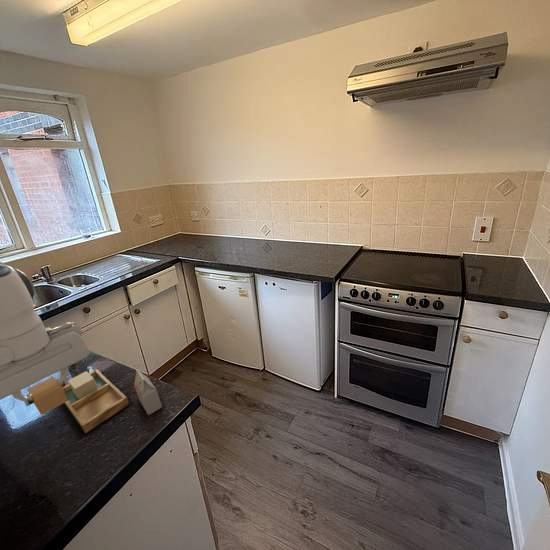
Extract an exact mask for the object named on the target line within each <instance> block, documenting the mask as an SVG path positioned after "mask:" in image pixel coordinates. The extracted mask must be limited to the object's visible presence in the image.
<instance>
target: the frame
mask: <svg viewBox="0 0 550 550" xmlns="http://www.w3.org/2000/svg"><path fill="white" fill-rule="evenodd" d="M88 373H89V374H90V375H91V376H92V377H93V378H94V380H95V382H96V385H97V387H98V389H97V390H95V391H93V392H92V393H90V394H88V395H86V396H85V397H83V398H81V399H80V400H79V399H78V397H77V396H76V395H75V394H74V392H73V391H72V389H71V386H70V384H69V383H68V385H66V386H64V387H63V390H64V393H65V395H66V398H67V400H68V401H66V402H65V403H63V404H64V406H65V407H66V409H67V410H68V411H69V413H70V414H71V416H72V417H73V418H74V420H75V421H76V423H78V425H79V426H80V428H81V429H82V431H83V432H84V433H85V434H86V433H89V432H90V431H91V430H93V429H95V428H96V427H97V426H99V425H100V424H102V423H104V422H105V421H106V420H108V419H109V418H111V417H112V416H114V415H115V414H118V413H119V412H120V411H121V410H123V409H124V408H126V407H128V406H129V405H130V402H129V399H128V397H127V396H126V394H124V393H123V392H122V391H121V390H120V389H118V387H117V386H116V385H114V383H113V382H111V381H110V380H109V379H108V378H107V377H106V376H105V375H104V374H102V372H101V371H100V370H98V369H94V370H93V371H91V372H88Z"/></svg>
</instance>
